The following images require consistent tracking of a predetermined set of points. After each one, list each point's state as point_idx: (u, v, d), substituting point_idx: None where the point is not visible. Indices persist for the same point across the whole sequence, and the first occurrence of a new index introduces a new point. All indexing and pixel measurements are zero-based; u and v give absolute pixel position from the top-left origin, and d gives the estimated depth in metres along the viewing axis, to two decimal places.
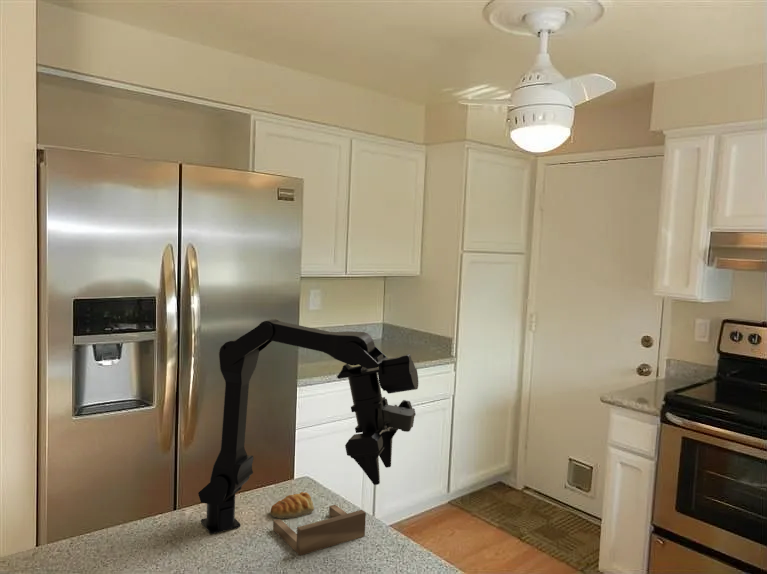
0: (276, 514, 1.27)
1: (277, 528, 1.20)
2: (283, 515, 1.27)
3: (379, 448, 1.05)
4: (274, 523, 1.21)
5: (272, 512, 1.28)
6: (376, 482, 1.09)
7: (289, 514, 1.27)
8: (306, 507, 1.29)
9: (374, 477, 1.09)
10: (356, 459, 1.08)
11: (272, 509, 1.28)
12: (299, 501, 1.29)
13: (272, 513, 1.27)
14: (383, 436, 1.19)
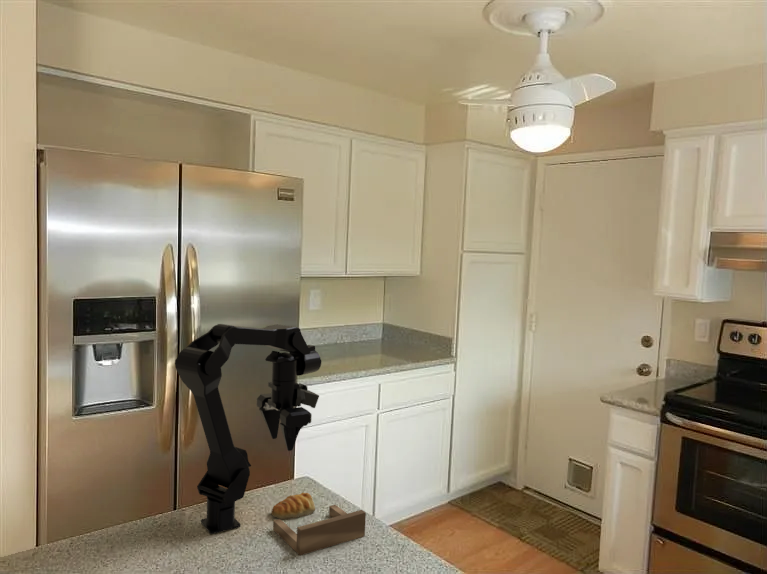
0: (278, 515, 1.26)
1: (277, 528, 1.20)
2: (285, 515, 1.27)
3: None
4: (274, 523, 1.21)
5: (273, 512, 1.27)
6: (291, 448, 1.34)
7: (290, 514, 1.27)
8: (307, 508, 1.29)
9: (291, 444, 1.33)
10: (285, 429, 1.30)
11: (273, 510, 1.28)
12: (300, 501, 1.29)
13: (273, 514, 1.27)
14: (274, 412, 1.41)
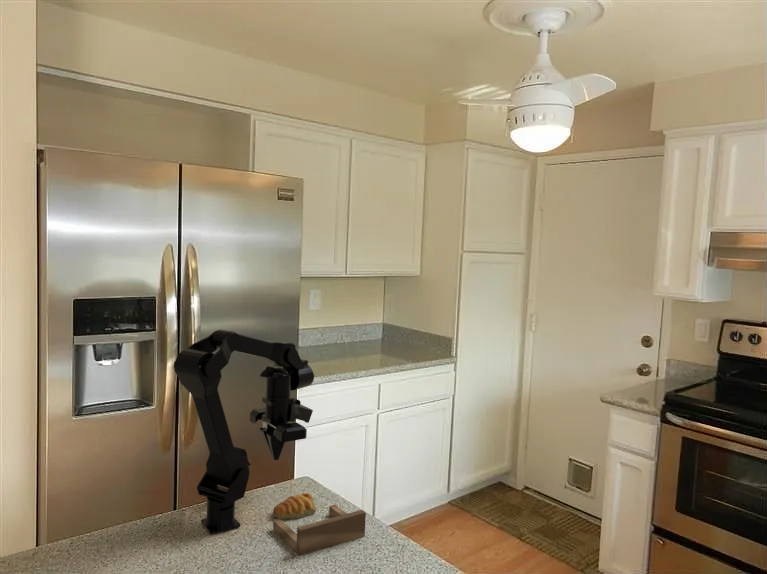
0: (279, 516, 1.26)
1: (277, 528, 1.20)
2: (286, 516, 1.26)
3: None
4: (274, 523, 1.21)
5: (274, 513, 1.27)
6: (277, 458, 1.37)
7: (292, 515, 1.27)
8: (309, 508, 1.29)
9: (277, 454, 1.37)
10: (271, 439, 1.34)
11: (275, 510, 1.27)
12: (302, 502, 1.29)
13: (275, 514, 1.27)
14: None
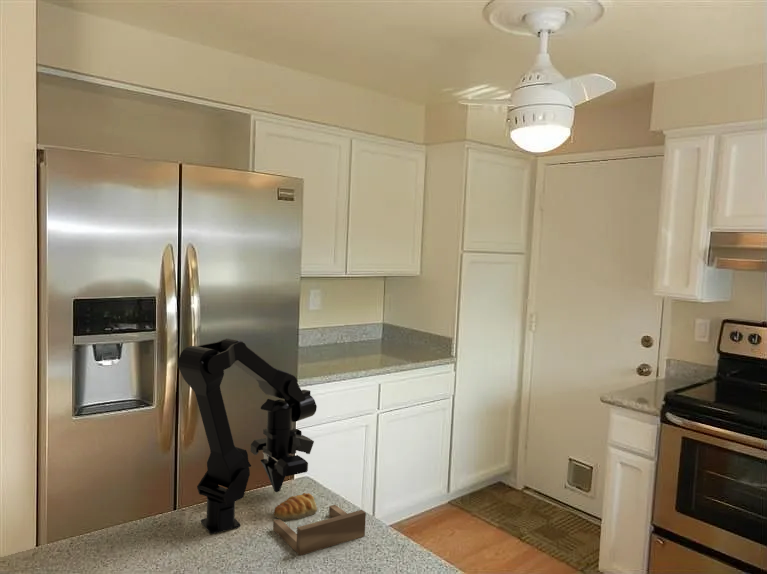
0: (280, 516, 1.26)
1: (277, 528, 1.20)
2: (287, 516, 1.26)
3: None
4: (274, 523, 1.21)
5: (275, 513, 1.27)
6: (278, 490, 1.37)
7: (293, 515, 1.27)
8: (310, 508, 1.29)
9: (278, 486, 1.37)
10: (273, 472, 1.34)
11: (276, 511, 1.27)
12: (303, 502, 1.29)
13: (276, 515, 1.27)
14: None
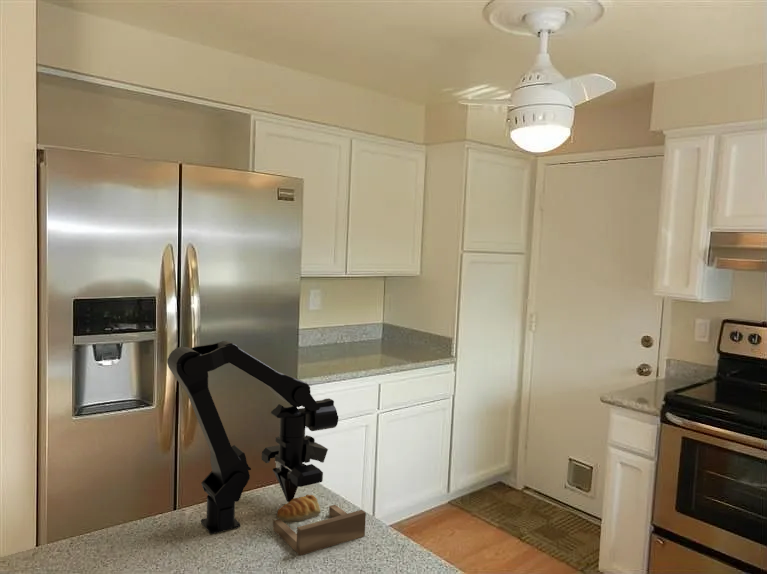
0: (283, 518, 1.25)
1: (277, 528, 1.20)
2: (291, 518, 1.25)
3: None
4: (274, 523, 1.21)
5: (278, 515, 1.26)
6: None
7: (296, 517, 1.26)
8: (313, 510, 1.28)
9: (291, 495, 1.32)
10: (286, 482, 1.29)
11: (279, 513, 1.26)
12: (306, 504, 1.28)
13: (279, 517, 1.26)
14: None
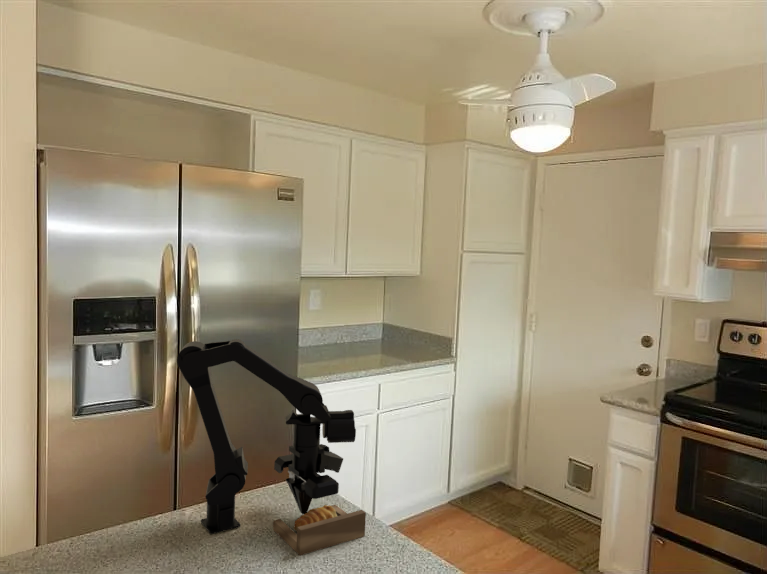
0: None
1: (277, 528, 1.20)
2: None
3: None
4: (274, 523, 1.21)
5: (295, 527, 1.21)
6: (305, 511, 1.26)
7: None
8: None
9: (305, 507, 1.26)
10: (300, 493, 1.23)
11: (296, 524, 1.21)
12: (324, 515, 1.23)
13: (296, 528, 1.21)
14: None
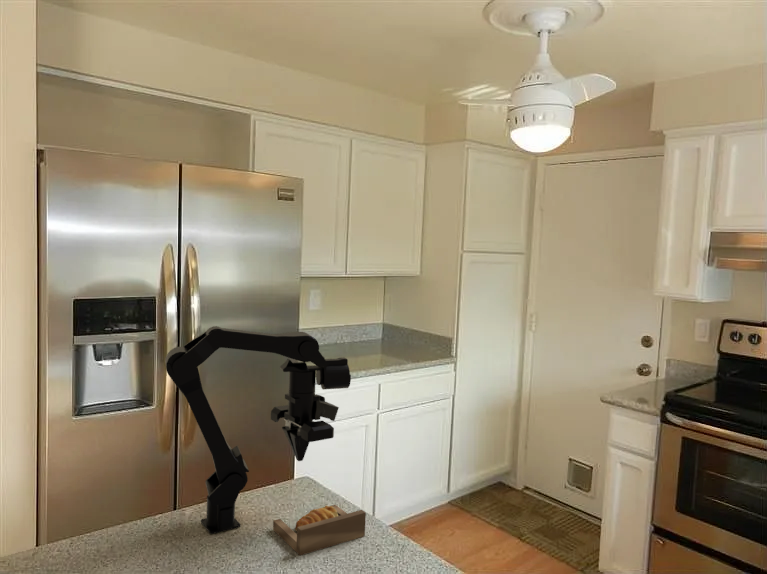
0: None
1: (277, 528, 1.20)
2: None
3: None
4: (274, 523, 1.21)
5: None
6: (301, 459, 1.28)
7: None
8: None
9: (301, 454, 1.28)
10: (296, 439, 1.25)
11: (297, 525, 1.21)
12: (325, 516, 1.23)
13: None
14: None
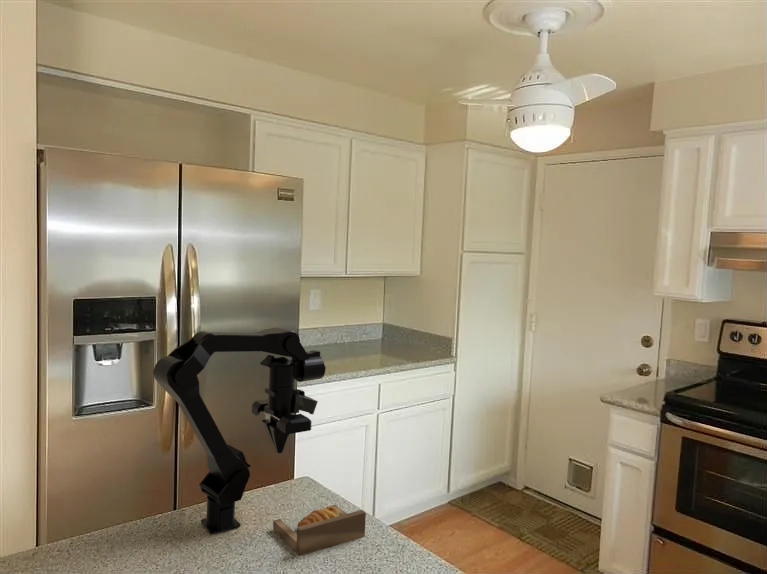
0: None
1: (277, 528, 1.20)
2: None
3: None
4: (274, 523, 1.21)
5: None
6: (280, 451, 1.32)
7: None
8: None
9: (281, 446, 1.31)
10: (275, 432, 1.29)
11: (299, 526, 1.21)
12: (327, 516, 1.23)
13: None
14: None
